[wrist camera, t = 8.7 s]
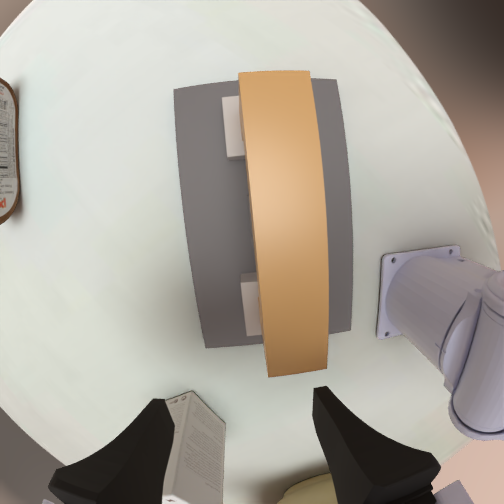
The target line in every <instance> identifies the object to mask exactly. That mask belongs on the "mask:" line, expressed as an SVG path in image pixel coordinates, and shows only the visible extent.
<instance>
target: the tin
mask: <svg viewBox="0 0 504 504" xmlns="http://www.w3.org/2000/svg"><path fill="white" fill-rule="evenodd" d="M19 189H20V181H19V168H18V106H17V101H16V97H15V94H14V92H13V90H12V88H11V87H10V85H9V84H8V83H7V82H6V81H4V80H3V79H1V78H0V225H1V224H2V223H4V222H5V221H6V220H7V219H8V218H9V217H10V216H11V215H12V213H13V211H14V209H15V207H16V205H17V202H18V197H19Z"/></svg>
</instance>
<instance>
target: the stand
mask: <svg viewBox="0 0 504 504" xmlns="http://www.w3.org/2000/svg"><path fill="white" fill-rule="evenodd" d="M311 84H312V90H313V96H314V102H315V109H316V116H317V124H318V131H319V139H320V148H321V157H322V167H323V178H324V190H325V203H326V218H327V238H328V269H329V325H328V334H333V333H339V332H344V331H350V330H351V316H352V293H353V229H352V205H351V189H350V176H349V165H348V155H347V146H346V138H345V130H344V122H343V116H342V109H341V103H340V97H339V91H338V85H337V80H335V79H316V78H311ZM174 111H175V128H176V142H177V155H178V166H179V177H180V187H181V196H182V205H183V213H184V221H185V229H186V237H187V244H188V251H189V258H190V264H191V271H192V277H193V283H194V289H195V295H196V301H197V306H198V312H199V317H200V322H201V328H202V333H203V338H204V343H205V347H206V348H217V347H231V346H242V345H253V344H262V343H263V338H262V331H261V325H260V315H259V305H258V297H259V293H258V282H257V272H256V262H255V252H254V242H253V232H252V221H251V211H250V201H249V191H248V181H247V171H246V161H245V151H244V142H243V141H242V135H241V125H240V115H239V80H237V81H227V82H218V83H210V84H203V85H196V86H190V87H184V88H178V89H174Z"/></svg>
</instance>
